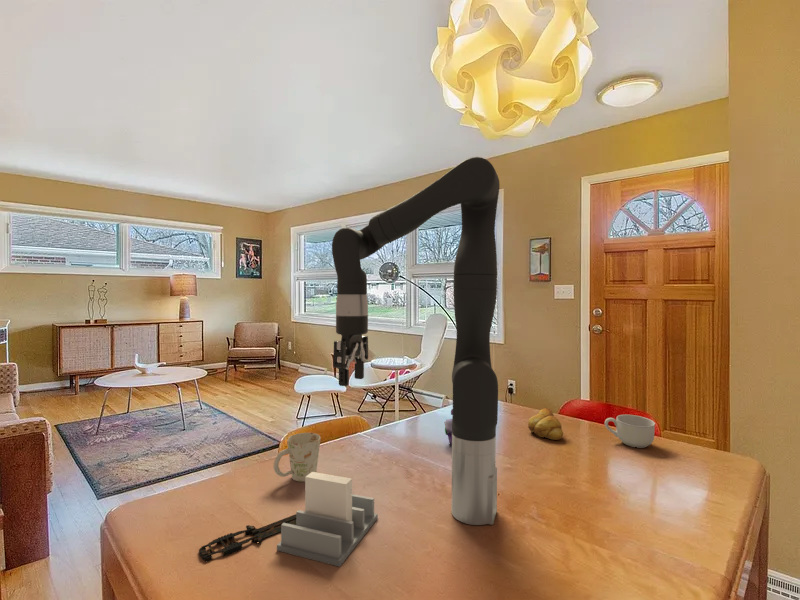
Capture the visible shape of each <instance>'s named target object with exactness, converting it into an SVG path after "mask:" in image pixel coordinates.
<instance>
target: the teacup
mask: <svg viewBox="0 0 800 600" xmlns="http://www.w3.org/2000/svg"><path fill="white" fill-rule="evenodd" d="M609 422H613V423H614V426H615V428H616V429H615V430H614V429H612V428H611V427H610V426H609ZM604 426H605V428H606V429H607V430H608V431H609V432H610V433H612V434H613V435H614V436H615V437H616V438H618V439H619V440H620V441H621V442H622V443H623V444H625V445H626V446H629V447H632V448H635V447H637V448H636V449H644V448H646V447H648V446H650V445H652V444H653V442H654V440H655V430H656V429H655V428H656V427H655V426H656V422H655V421H654V420H652V419H650V418H647V417H645V416H640V415H636V414H635V415H634V414H619V415H617V416H616V418H614V417H607V418H606V419H605V421H604Z"/></svg>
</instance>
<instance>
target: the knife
mask: <svg viewBox="0 0 800 600" xmlns="http://www.w3.org/2000/svg"><path fill="white" fill-rule="evenodd" d="M283 523H288V524H292V525H296V513H295V514H293V515H290V516H287V517H284V518H283V519H280V520H279V519H278V520H277V521H274V522H272V523H269V524H267V525H264V526H261V527H259V528H256V527H255V526H254V525H249V524H248V525H246V526H245V529H244V530H239V531H236V532H230V533H227V534H224V535H223V536H221V537H218V538H215V539H213V540H212V541H210V542H208V543H207V544H205V545H202V546H201V547H200V548H199V549H198V553H199V555H200V557H201V559H202V560H203V561H204V562H205V563H207V562H211V561H212V560H213V555H216V554H221V553H222V555H223V557H226V556H230V555H232V554H235V553H237V552H239V551H238V550H240V551H241V550H242V549H243V545H245V544H247V543H249V542H250V541H251V543H252V542H253V543H254V544H255V543H256V544H257V542H259V543H260V545H259V546H261V543H262V541H264V539H265V538H267V537H270V536H272V535H275V534H277V533H281V525H282V524H283ZM242 534H244V535H245V536H250V535H252V536H251V537H248V538H246V539H244V540H241V541H237V540H236V538H235V537H236V536H238V535H242ZM230 540H233V541H232V542H230ZM225 542H226V543H227V545H228V546H227V545H226V544H225ZM218 543H219V544H221V545H222V548H221V549H218V550H216V551H215V549H214V548H213V547H212V545H215V544H217V545H218ZM259 543H258V544H259ZM258 544H257V545H258ZM207 547H208V549H209V550H208V551H207ZM241 548H242V549H241ZM236 551H237V552H236ZM234 552H235V553H234ZM206 561H207V562H206Z"/></svg>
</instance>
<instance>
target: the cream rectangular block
mask: <svg viewBox="0 0 800 600" xmlns="http://www.w3.org/2000/svg"><path fill="white" fill-rule="evenodd" d="M304 485H305V487H304V488H305V490H304V493H305V494H304V495H305V497H304V501H305V502H304V506H305V507H304V511H306V512H310V513H315V514H320V515H324V516H329V517H334V518H338V519H343V520H348V521H352V494H353V479H352V478H349V477H345V476H339V475H332V474H327V473H322V472H317V471H316V472H311V473H310V474H309V475H307V476H306V477H305V481H304Z"/></svg>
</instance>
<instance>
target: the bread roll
mask: <svg viewBox="0 0 800 600" xmlns="http://www.w3.org/2000/svg"><path fill="white" fill-rule="evenodd" d="M527 423H528V424H527V428H528V430H529V431H530V432H531V433H533V432H534V434H535V435H536V436H538V437H541V438H544V437H545V438H547V439H549V440H553V441H555V440H561V439H562V438H563V436H564V431H563V429H562V423H561V422H560V420H559V418H557V417H556V416H554V413H553V412H552V410H551V409H549V408H547V407H546V408H545V407H544V408H542V409H540V410H539V412H538V413H537V414H535V415H533V416H531V417H530V418H529V419H528V422H527Z"/></svg>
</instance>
